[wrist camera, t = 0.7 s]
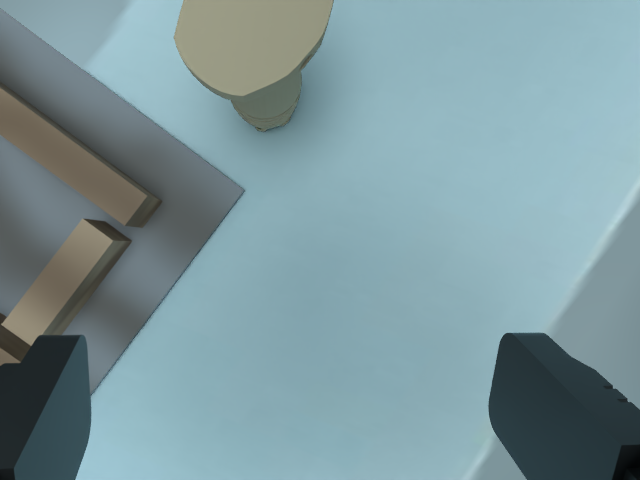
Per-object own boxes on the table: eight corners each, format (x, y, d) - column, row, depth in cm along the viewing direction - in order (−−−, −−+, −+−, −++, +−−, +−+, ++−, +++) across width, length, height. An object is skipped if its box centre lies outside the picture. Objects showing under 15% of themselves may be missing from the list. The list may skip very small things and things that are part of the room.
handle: (203, 121, 36) (147, 34, 21) (270, 43, 36) (261, -97, 21) (263, 171, 36) (249, 121, 21) (329, 93, 37) (362, -10, 22)
